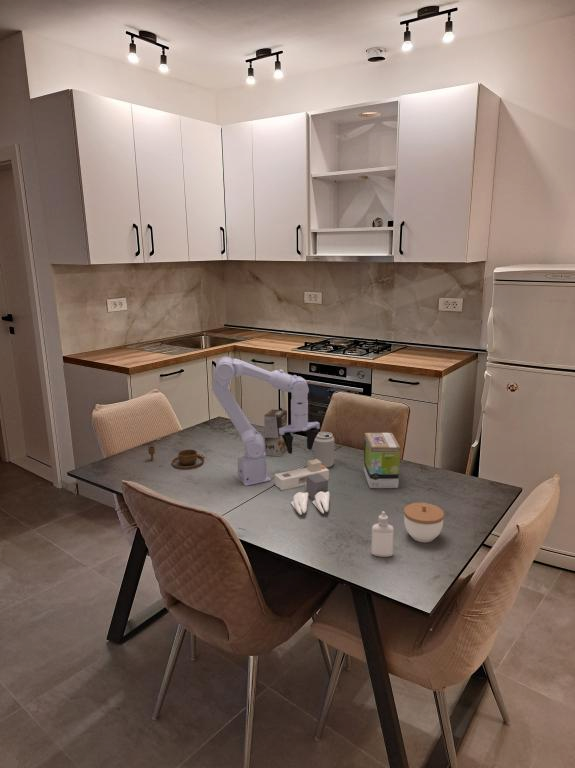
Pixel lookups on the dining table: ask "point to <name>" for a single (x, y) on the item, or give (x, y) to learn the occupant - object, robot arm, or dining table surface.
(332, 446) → the can
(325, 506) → the salt and pepper shakers
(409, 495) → the dining table surface
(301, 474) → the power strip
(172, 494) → the dining table surface
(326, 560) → the dining table surface
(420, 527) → the lidded jar
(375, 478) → the tea box
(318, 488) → the block
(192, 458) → the place setting
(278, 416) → the coffee box
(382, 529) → the eye dropper bottle
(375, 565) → the dining table surface
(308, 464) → the beige plug
